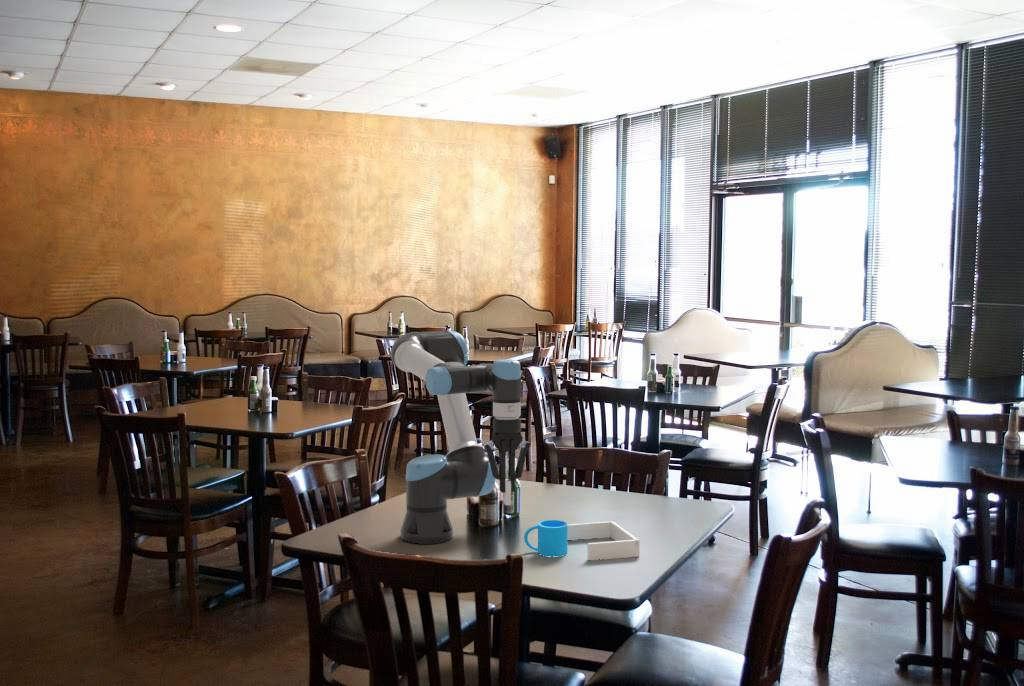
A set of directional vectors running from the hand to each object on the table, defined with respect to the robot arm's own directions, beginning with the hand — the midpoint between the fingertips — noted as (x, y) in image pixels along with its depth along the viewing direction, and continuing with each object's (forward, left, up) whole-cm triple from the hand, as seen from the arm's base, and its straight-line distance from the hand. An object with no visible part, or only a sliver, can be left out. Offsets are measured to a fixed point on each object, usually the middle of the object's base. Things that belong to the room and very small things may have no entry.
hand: (507, 503), depth 259 cm
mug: (+11, 0, -15) cm, 18 cm away
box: (+27, 0, -14) cm, 30 cm away
